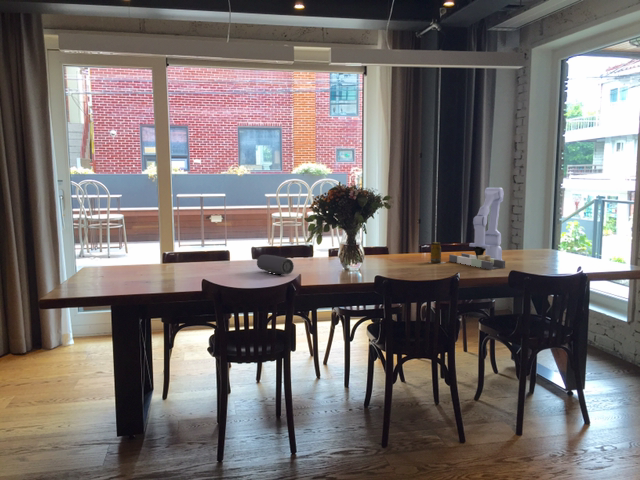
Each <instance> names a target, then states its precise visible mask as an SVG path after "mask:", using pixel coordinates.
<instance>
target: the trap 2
mask: <svg viewBox="0 0 640 480" xmlns="http://www.w3.org/2000/svg"><path fill="white" fill-rule="evenodd" d="M498 269H504V268H503V267H498V266H493V269H492V270H498Z"/></svg>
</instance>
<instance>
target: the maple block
mask: <svg viewBox="0 0 640 480" xmlns="http://www.w3.org/2000/svg"><path fill="white" fill-rule="evenodd" d="M478 260H483V261H489V262H490V260H491V256H488V255H485V254H483V255H478Z"/></svg>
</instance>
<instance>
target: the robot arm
mask: <svg viewBox="0 0 640 480" xmlns="http://www.w3.org/2000/svg"><path fill="white" fill-rule="evenodd" d="M504 194H505V192H504V189H503V187H486V188H485V189H484V202H483V205H482V206H481V205H480V207H479V209H478V213H477V214H476V215H475V216H474V217H473V219H472V220H473V221H472V224H473V229H474V242H470V243H468V244H469V247H474V248H472V249H473V251H474V253H475V255H476V257H477V259H478V255H488V256H491V258H493V259H498V260H503V250H502V249H503V248H502V247H501V246H500V245H501V244H502V233H501V232H500V231H499V230H498V223H499V214H500V207H501V203H503V202H504V196H505V195H504ZM488 216H489V223H488ZM487 223H488V229H487V230H486V225H487Z"/></svg>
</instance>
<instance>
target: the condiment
mask: <svg viewBox="0 0 640 480" xmlns="http://www.w3.org/2000/svg"><path fill="white" fill-rule="evenodd" d="M428 263H430V264H438V265H441V264H446V263H447V262H446V261H445V262H444V261H442V247H441V242H437V241H434V242H431V247H430V261H428Z"/></svg>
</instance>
